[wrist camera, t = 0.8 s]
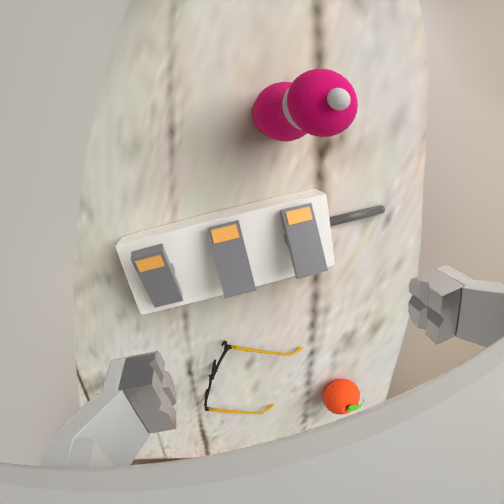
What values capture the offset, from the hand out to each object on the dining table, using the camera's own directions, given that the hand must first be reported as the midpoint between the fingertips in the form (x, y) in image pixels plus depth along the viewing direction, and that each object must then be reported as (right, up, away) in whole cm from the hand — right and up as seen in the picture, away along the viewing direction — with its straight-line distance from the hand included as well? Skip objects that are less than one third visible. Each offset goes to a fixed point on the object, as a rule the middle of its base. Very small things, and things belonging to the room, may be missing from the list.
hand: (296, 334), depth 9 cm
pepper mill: (+2, +20, +30) cm, 36 cm away
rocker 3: (+5, +4, +30) cm, 30 cm away
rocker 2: (-4, +2, +29) cm, 29 cm away
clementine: (+15, -23, +49) cm, 56 cm away
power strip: (0, +5, +35) cm, 36 cm away
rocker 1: (-12, -1, +28) cm, 31 cm away
